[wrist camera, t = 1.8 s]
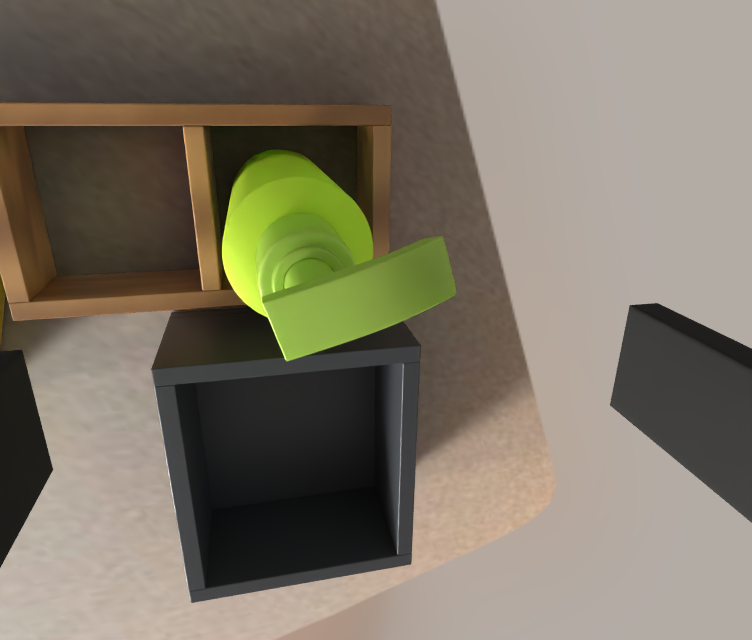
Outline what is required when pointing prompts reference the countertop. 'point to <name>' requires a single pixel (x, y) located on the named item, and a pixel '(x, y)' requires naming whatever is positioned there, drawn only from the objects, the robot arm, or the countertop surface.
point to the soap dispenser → (320, 258)
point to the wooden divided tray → (209, 283)
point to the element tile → (1, 305)
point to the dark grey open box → (286, 452)
